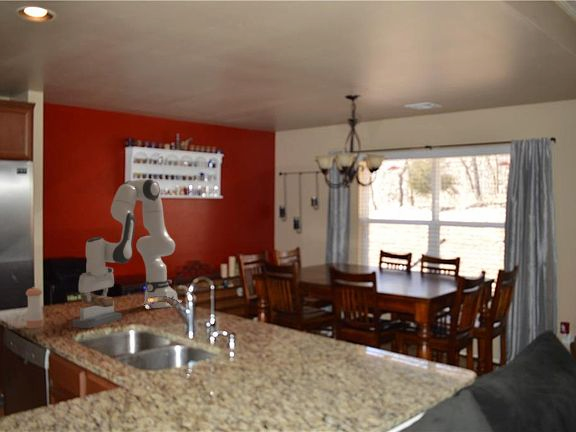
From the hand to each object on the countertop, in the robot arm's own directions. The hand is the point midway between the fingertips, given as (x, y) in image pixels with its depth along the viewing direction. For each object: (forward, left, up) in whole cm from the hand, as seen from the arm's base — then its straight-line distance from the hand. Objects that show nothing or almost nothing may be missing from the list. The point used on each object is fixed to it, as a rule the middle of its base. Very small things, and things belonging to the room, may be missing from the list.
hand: (97, 299), depth 269 cm
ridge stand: (0, 0, -12) cm, 12 cm away
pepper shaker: (+17, -23, -12) cm, 31 cm away
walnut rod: (0, 0, -3) cm, 3 cm away
